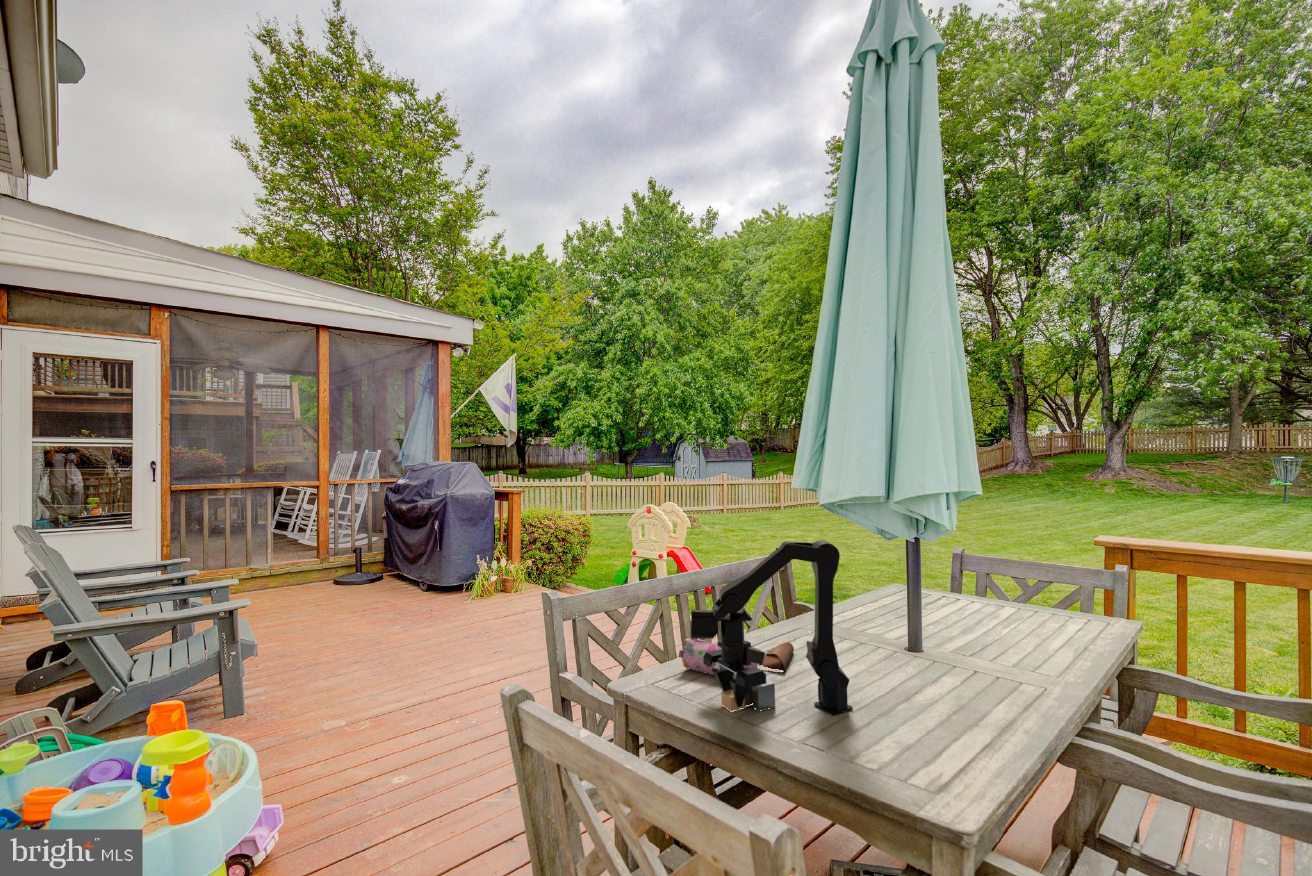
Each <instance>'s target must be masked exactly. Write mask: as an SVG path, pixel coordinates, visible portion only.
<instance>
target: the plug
mask: <svg viewBox="0 0 1312 876" xmlns="http://www.w3.org/2000/svg"><path fill="white" fill-rule="evenodd" d="M752 703H753V693H752V688H749V689H747V691H746V694H745V698H744V701H743V704H742V706H741V707H737V704H736V701H735V698H734V694H733V690H732V689H731V690H727V691H721V706H722V705H724V706H725V707H727V708H728V709H729V710H731V711H733V710H738V709H740V708H745V709H746V707H745V706H746V705H750V704H752Z"/></svg>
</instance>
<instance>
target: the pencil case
mask: <svg viewBox="0 0 1312 876" xmlns="http://www.w3.org/2000/svg"><path fill="white" fill-rule="evenodd" d="M684 642H687V643H686V645H685V646H684V649H683V650H681V649H679V652H678V658H681V660H682V664H683V667H684V668H685V667H686V668H689V669H688V670H691V669H692V671H694V670H696V671H695V672H699V671H702V672H701V673H703V672H706V673H711V674H710V675H712V674H714V673H713V672H712V669H714V663H713V662H712V666H711V667H708V666H707V665H705V664H704V663H703V656H704V655H705V653H706V652H710V651H715V650H720V649H721V647H719V646H718V643H713V642H707V640H705V639H691V637H690V638H689V637H687V638H686V639H685V640H684ZM757 666H758V664H757V663H752V662H751V665H748V666H747V665H744V668H750V667H756V668H757ZM686 668H685V669H686ZM706 673H705V674H706ZM734 674H735V673H734ZM733 678H734V675H733Z"/></svg>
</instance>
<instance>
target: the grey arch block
mask: <svg viewBox="0 0 1312 876" xmlns="http://www.w3.org/2000/svg"><path fill="white" fill-rule="evenodd" d="M734 679H736V673H735V674H734V677H733V680H734ZM775 687H776V686H775V682H773V681H772V680H769V679H768V678H766V684H762V685H758V686H754V687H750V688H752V693H753V705H752V708H753V707H754V708H756V710H758V711H760V710H764V709H768V708H772V709H774V708H773V707H775V708H776V689H775ZM748 689H749V688H748ZM756 710H755V711H756ZM758 711H757V712H758Z"/></svg>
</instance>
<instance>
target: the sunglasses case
mask: <svg viewBox="0 0 1312 876" xmlns="http://www.w3.org/2000/svg"><path fill="white" fill-rule="evenodd" d="M768 650H769V651H768ZM768 650H767V651H766V652H765V657H764V661H763V666H764V667H768V668H771V669H779V670H783V671H785V672H786V670H787V668H786V667H788V665H789V663H790V661H791V659H792V656H793V654H794V653H793V651H795V648H794V646H793V644H792V643H791V642H788V641H787V642H783V643H780V644H779V645H777V646H775V647H773V648H771V650H770V649H768ZM792 653H793V654H792ZM790 658H791V659H790ZM789 660H790V661H789ZM788 662H789V663H788ZM785 669H786V670H785Z"/></svg>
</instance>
